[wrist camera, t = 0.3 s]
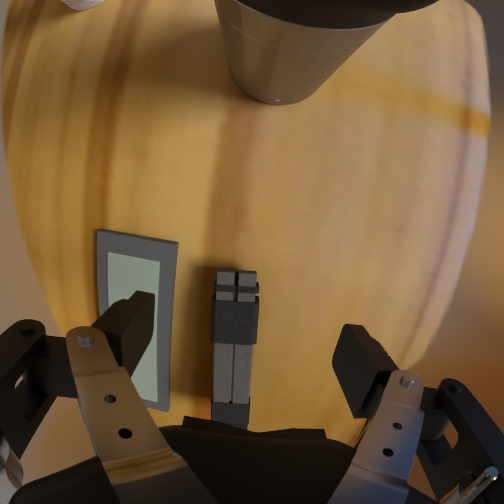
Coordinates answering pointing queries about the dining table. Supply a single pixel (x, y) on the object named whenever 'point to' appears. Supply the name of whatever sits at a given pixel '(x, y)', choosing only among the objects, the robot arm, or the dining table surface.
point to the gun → (233, 345)
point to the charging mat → (148, 280)
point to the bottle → (82, 4)
